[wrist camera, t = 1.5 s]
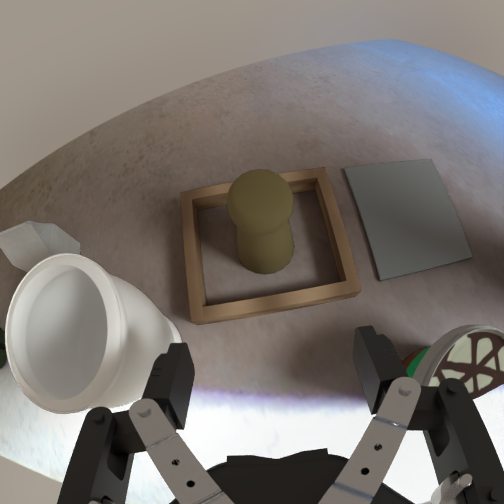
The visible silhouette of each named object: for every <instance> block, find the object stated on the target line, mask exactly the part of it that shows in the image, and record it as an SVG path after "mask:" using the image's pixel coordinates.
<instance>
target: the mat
mask: <svg viewBox="0 0 504 504" xmlns="http://www.w3.org/2000/svg"><path fill="white" fill-rule="evenodd" d="M344 172H345V175H346V177H347V180H348V183H349V185H350V188H351V191H352V194H353V197H354V199H355V202H356V205H357V208H358V211H359V214H360V217H361V220H362V223H363V226H364V229H365V233H366V236H367V239H368V242H369V246H370V249H371V252H372V256H373V259H374V263H375V266H376V270H377V273H378V277H379V281H382V280H386V279H391V278H395V277H399V276H403V275H408V274H412V273H416V272H420V271H424V270H428V269H432V268H435V267H439V266H443V265H447V264H451V263H454V262H458V261H462V260H465V259H469V258H472V257H473V256H472V253H471V250H470V247H469V245H468V242H467V239H466V236H465V234H464V231H463V228H462V226H461V223H460V221H459V218H458V216H457V213H456V211H455V208H454V206H453V204H452V201H451V199H450V197H449V195H448V192H447V190H446V188H445V186H444V184H443V182H442V179H441V177H440V175H439V173H438V171H437V169H436V167H435V165H434V163H433V161H432V159H426V160H413V161H402V162H391V163H381V164H372V165H363V166H354V167H346V168H344Z"/></svg>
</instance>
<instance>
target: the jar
mask: <svg viewBox="0 0 504 504" xmlns="http://www.w3.org/2000/svg"><path fill="white" fill-rule="evenodd" d="M170 343H182V341H181V338H180V335H179V333H178V331H177V329H176V327H175V326H174V324H173V323H172V322H171V321H170V320H169V319H168V318H166V317H165V316H163V314H162V313H161V312H160V311H159V310H158V309H157V307H156V306H155V305H154V304H153V303H152V301H151V300H150V299H149V298H148V297H147V296H146V295H145V294H143V293H142V292H141V291H140V290H138V289H137V288H136V287H134V286H133V285H131V284H130V283H128V282H126V281H124V280H122V279H120V278H118V277H115V276H113V275H110V274H108V273H107V272H106V271H105V270H104V269H103V268H102V267H101V266H100V265H98V264H97V263H96V262H94V261H92V260H90V259H88V258H86V257H84V256H81V255H78V254H72V253H63V254H57V255H53V256H51V257H48V258H46V259H44V260H43V261H41V262H40V263H38V264H37V265H36V266H34V267H33V268H32V269H31V270H30V271H29V272H28V273H27V274H26V276H25V277H24V278H23V280H22V281H21V282H20V284H19V286H18V287H17V289H16V291H15V293H14V295H13V298H12V300H11V303H10V306H9V310H8V314H7V319H6V327H5V345H6V353H7V358H8V362H9V365H10V369H11V371H12V374H13V376H14V378H15V380H16V382H17V384H18V385H19V387H20V388H21V390H22V391H23V393H24V394H25V395H26V396H27V397H28V398H29V399H30V400H31V401H32V402H33V403H35V404H36V405H37V406H39V407H41V408H42V409H44V410H47V411H49V412H53V413H58V414H69V413H76V412H80V411H83V410H86V409H88V408H92V409H93V408H95V407H100V406H102V407H106V408H114V407H119V406H123V405H126V404H129V403H131V402H133V401H136V400H138V399H139V398H141V397H142V395H143V392H144V390H145V387H146V384H147V381H148V378H149V376H150V372H151V370H152V367H153V364H154V361H155V360H156V359H157V357H158V356H159V355H160V354H161V353H167V351H168V348H169V345H170Z"/></svg>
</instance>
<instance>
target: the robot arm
mask: <svg viewBox="0 0 504 504" xmlns="http://www.w3.org/2000/svg"><path fill="white" fill-rule="evenodd" d="M353 360H354V364H355V367H356V370H357V373H358V376H359V379H360V382H361V385H362V388H363V391H364V394H365V397H366V400H367V403H368V406H369V409H370V412H371V415H373V414H376V416H375V417H373V419H372V420H371V422H370V424H369V426H368V428H367V430H366V431H365V433H364V435H363V437H362V439H361V440H360V442H359V444H358V445H357V447H356V449H355V451H354V452H353V454H352V456H351V457H350V459H347V458H345V457H342V456H338V455H332V454H328V451H327V448H324V449H317V450H309V451H302V452H299V453H296V454H293V455H290V456H286V457H283V458H280V459H272V458H266V457H259V456H253V455H241V456H227V462H224V463H221V464H218V465H215V466H213V467H211V468H209V469H208V470H205V469H204V468H203V467H202V465H201V464H200V463H199V461H198V460H197V459H196V457H195V456H194V455H193V453H192V452H191V451H190V449H189V448H188V447H187V445H186V444H185V442H184V441H183V440H182V438H181V437H180V435H179V434H178V433H176V429H182V430H184V427H185V422H186V417H187V411H188V406H189V401H190V396H191V391H192V386H193V381H194V376H195V370H194V364H193V361H192V358H191V355H190V352H189V348H188V345H187V343H170V345H169V348H168V351H167V353H161V354H160V355H159V356H158V357H157V359H156V360H155V361H154V364H153V367H152V370H151V372H150V376H149V378H148V381H147V384H146V387H145V390H144V392H143V395H142V398H141V400H138V401H136V402H135V403H133V404H132V406H131V407H130V409H129V410H127V411H122V412H116V413H112V412H111V411H110V410H109V409H108V408H106V407H102V406H100V407H95V408H93V409H92V410H90V411H89V412H88V413H87V415H86V417H85V420H84V422H83V425H82V428H81V431H80V433H79V436H78V439H77V442H76V445H75V447H74V450H73V453H72V456H71V459H70V462H69V465H68V469H67V472H66V475H65V478H64V481H63V485H62V488H61V491H60V495H59V498H58V502H57V504H125V500H126V495H127V489H128V484H129V479H130V473H131V468H132V463H133V459H134V454H135V453H138V452H143V451H147V452H148V454H149V456H150V457H151V459H152V461H153V463H154V464H155V466H156V468H157V469H158V471H159V472H160V474H161V476H162V477H163V479H164V480H165V482H166V484H167V485H168V487H169V488H170V490H171V491H172V493H173V494H174V496H175V497H176V498H175V499H174V500H173V501H172V502H171V503H169V504H414V503H413V502H411V501H410V500H408V499H407V498H405V497H403V496H402V495H400V494H399V493H397V492H396V491H394V490H393V489H391V488H390V487H388V486H387V485H386V484H384V483H383V482H382V481H383V479H384V477H385V475H386V473H387V471H388V470H389V468H390V465H391V463H392V461H393V459H394V457H395V455H396V453H397V451H398V449H399V446H400V444H401V442H402V440H403V437H404V435H405V433H406V430H423V433H424V436H425V440H426V443H427V446H428V449H429V452H430V456H431V459H432V462H433V466H434V469H435V473H436V476H437V480H438V484H439V486H438V488H437V489H436V490H435V491H434V492H433V494H432V497H431V504H504V470H503V468H502V465H501V463H500V460H499V458H498V455H497V453H496V450H495V448H494V445H493V443H492V441H491V438H490V436H489V434H488V431H487V429H486V427H485V425H484V423H483V420H482V418H481V416H480V414H479V412H478V410H477V408H476V406H475V404H474V402H473V400H472V398H471V396H470V394H469V392H468V390H467V388H466V386H465V384H464V383H463V382H462V381H461V380H459V379H456V378H447V379H444V380H443V381H441V383H440V384H439V386H421V385H420V384H419V383H418V382H417V381H416V380H415V379H413V378H410V377H409V376H408V374H407V372H406V370H405V368H404V366H403V364H402V362H401V360H400V358H399V356H398V355H397V352H396V350H395V349H394V346H393V344H392V343H391V341H390V340H389V339H388V338H387V337H386V336H385V335H383V334H381V335H377V334H376V332H375V330H374V328H373V327H372V326H364V327H358V328H356V330H355V339H354V348H353Z"/></svg>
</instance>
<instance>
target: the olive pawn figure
mask: <svg viewBox="0 0 504 504" xmlns="http://www.w3.org/2000/svg"><path fill="white" fill-rule="evenodd" d="M226 203H227V211H228V214H229V216H230V218H231V219H232V221H233V223H234V224H236V225H237V254H238V257H239V259H240V261H241V263H242V264H243V265H244V266H245V267H246V268H247V269H249V270H251V271H253V272H255V273H259V274H271V273H275V272H277V271H279V270H282V269H283V268H284V267H285V266H286V265H287V264H288V263H289V262H290V260H291V258H292V256H293V253H294V242H293V237H292V233H291V228H290V224H289V218H290V216H291V214H292V211H293V204H294V198H293V194H292V190H291V188H290V186H289V185H288V183H287V182H286V180H285V179H283V178H282V177H281V176H280V175H278V174H276V173H274V172H271V171H269V170H260V169H259V170H252V171H249V172H247V173H244V174H242V175H241V176H240V177H239V178H237V179H236V180H235V181H234V182H233V184H232V185H231V187H230V188H229V191H228V195H227V199H226Z"/></svg>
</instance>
